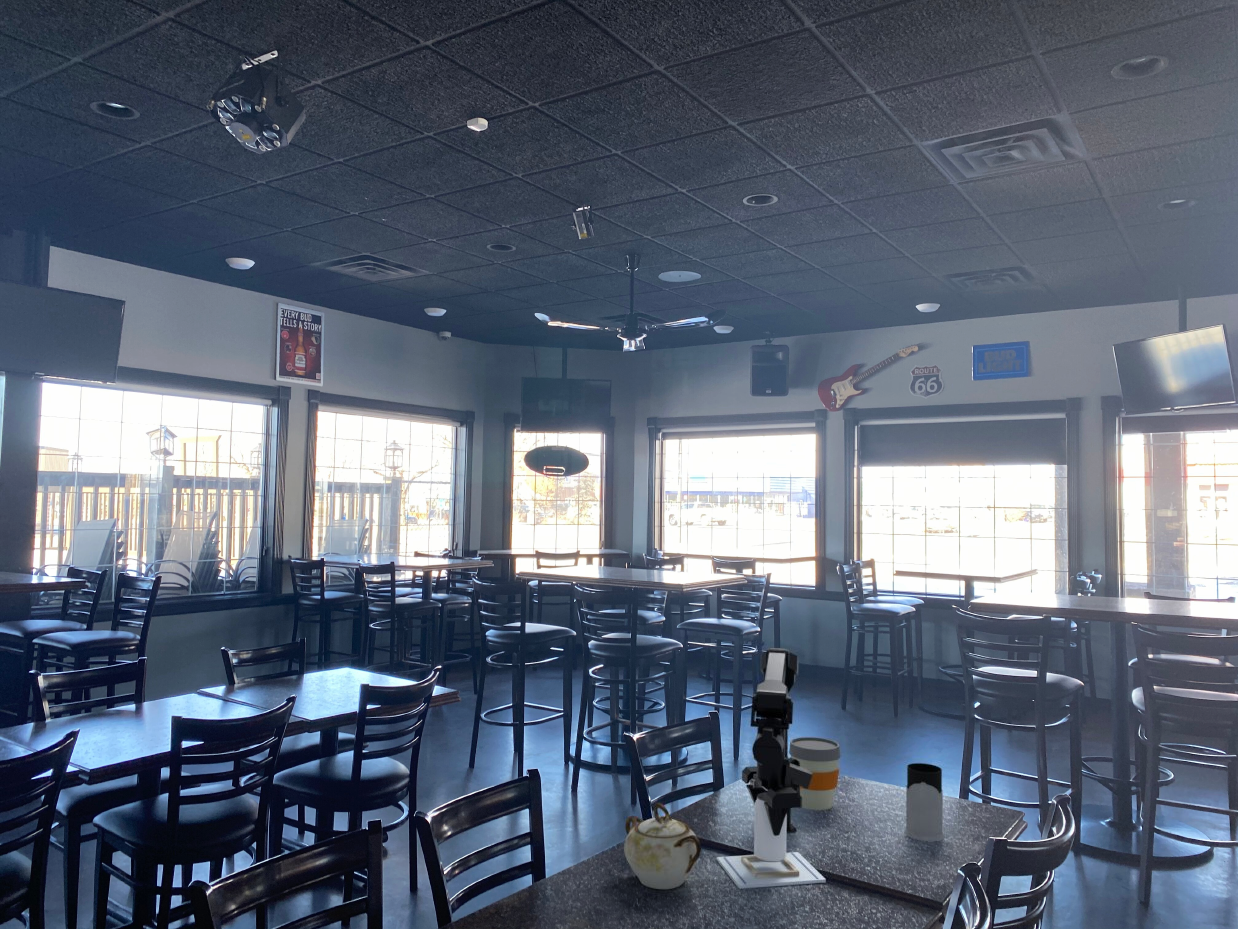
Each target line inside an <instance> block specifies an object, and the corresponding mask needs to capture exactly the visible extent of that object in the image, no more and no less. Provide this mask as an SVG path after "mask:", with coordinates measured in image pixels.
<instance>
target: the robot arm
mask: <svg viewBox="0 0 1238 929" xmlns="http://www.w3.org/2000/svg"><path fill="white" fill-rule="evenodd" d="M760 672H761V674H763V682H761V683H759V684H758V685H757V686H756V691H755V693H753V694H752V701H751V712H750V713H751V716H750V727H754V728H757V729H756V736H755V739H754V742H753V745H752V748H751V749H752V755H753V760H755V762H756V766H755V765H754V766H746V767H744V768H743V769H742V771H741V781H742V782H744V784H746V785H745V787H746V789H747V791H748V793H749V795H750V798H751V800H752V802H753V805H754V806H755V802H756V800H757V795H758V794H760V793H766V800H767V802H764V806H765V809H766V812H767V815H768V819H769V822H770V825H771V829H772V832H773V834H774V836H778V835H779V834H780V831H781V828H782V825H783V822H784V819H785V816H786V814H787V826H786V833H787V832H796V831H797V830H798V829H797V828H796V826H794V825H793V823H792V809H800V808H802V797H801V795H800V786H802V787H803V788H805V789H808V788H809V785H810V782H811V779H812V776H813V774H812V773H811V772H809V771H808V770H807V769H805V768H803V767H800V762H799V761H798V760H797V759H795V758H792V757H791V756H790V757H789V756H788V755H789V750H788V749H789V748H788V747H789V741H788V740H789V738H788V737H789V730H790V725H793V722H794V720H793V719H794V718H793V717H794V702H793V700H792V697H791V696H789V693H790V691H791V690H792V688H793V686H794V684H795V683H796V676H799V657H798V655H796V654H795V653H792V652H790V650H789V649H787V648H781V647H780V648H778V647H775V648H774V647H769V648H766V651H764V652H762V653H761V654H760Z"/></svg>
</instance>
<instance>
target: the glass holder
mask: <svg viewBox="0 0 1238 929" xmlns="http://www.w3.org/2000/svg"><path fill="white" fill-rule="evenodd" d="M906 768H907V769H906V772H907V773H906V782H907V783H906V788H905V790H906V791H905V792H906V793H905V794H906V796H905V797H906V801H905V804H906V805H905V808H906V809H905V812H906V813H905V814H906V816H905V817H906V818H905V822H906V825H905V829H904V831H903V834H904V835H905V834H906V835H907V837H908V838H910V839H912V838H913V840H915V839H917V840H916V841H920V842H926V841H928V843H935V842H934V841H937V842H941V841H943V840H945V834H944V831H943V821H944V820H943V819H944V818H943V812H944V811H943V808H944V807H943V806H944V805H943V787H942V786H943V771H942V770H943V769H942V768H941V767H939V766H937V765H934V764H929V763H925V762H924V763H922V762H917V763H916V762H913V763H909V764H908V765H907V766H906ZM906 835H905V836H906Z"/></svg>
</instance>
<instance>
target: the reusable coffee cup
mask: <svg viewBox="0 0 1238 929" xmlns="http://www.w3.org/2000/svg"><path fill="white" fill-rule="evenodd" d="M788 749H789V750H788V755H790V757H792V758H795V759H797V760H798V761H799V762H800V767H803V768H805V769H807V770H808V771H809V772H811V773H812V774H813V776H812V779H811V782H810V785H809V788H808V789H805V788H803V787H802V786H800V795H801V797H802V807H801V808H803V809H805V808H806V810H811V811H826V810H830V809H832V808H833V806H834V797H835V792H836V791H835V790H836V789H837V786H838V781H839V774H840V767H839V763H840V762H839V761H840V758H841V748H840V744H839V743H838V741H835V740H833V739H829V738H825V737H816V736H804V737H803V736H802V737H795V738H792V739H791V740H790V742H789V748H788Z"/></svg>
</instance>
